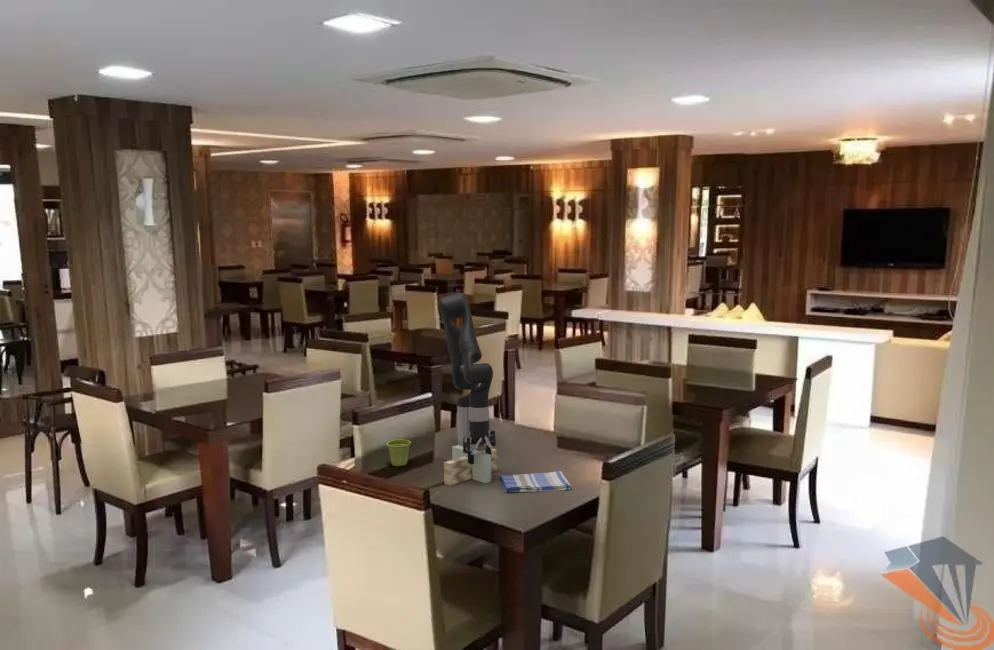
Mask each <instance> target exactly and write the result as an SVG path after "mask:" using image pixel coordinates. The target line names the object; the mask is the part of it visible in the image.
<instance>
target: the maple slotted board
mask: <svg viewBox="0 0 994 650" xmlns="http://www.w3.org/2000/svg"><path fill="white" fill-rule="evenodd" d="M480 452H483V453H485V449H484V450H481V451H480ZM491 453H492V456H491V473H493V472H497V471H498V449H496V448H492V449H491ZM471 479H472V468H470V464H469V463H468V457H465V456H463V457H460V458H457V459H453V460H452V459H450V460H447V461H444V462H443V483H444V485H447V486H454V485H457V484H458V483H462V482H465V481H468V480H469V481H470V480H471ZM472 480H473V479H472Z"/></svg>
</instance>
